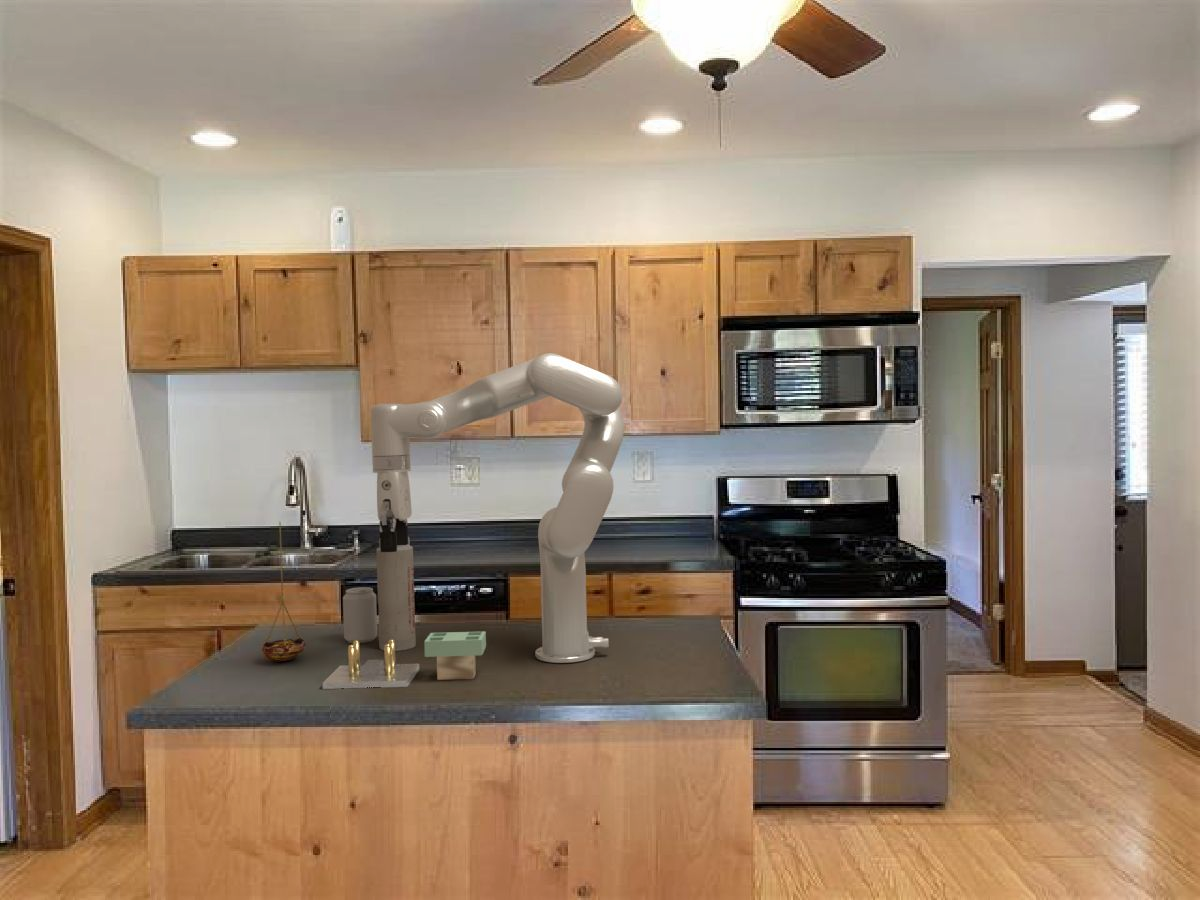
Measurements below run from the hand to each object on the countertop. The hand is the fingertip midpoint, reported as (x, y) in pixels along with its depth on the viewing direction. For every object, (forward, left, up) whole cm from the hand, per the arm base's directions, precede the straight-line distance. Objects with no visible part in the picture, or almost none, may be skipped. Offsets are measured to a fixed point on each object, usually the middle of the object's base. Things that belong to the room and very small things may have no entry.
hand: (394, 548), depth 182 cm
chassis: (+4, +7, -25) cm, 26 cm away
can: (+14, -25, -25) cm, 38 cm away
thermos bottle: (+4, -18, -25) cm, 31 cm away
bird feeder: (+26, -8, -25) cm, 37 cm away
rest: (-13, +7, -25) cm, 29 cm away
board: (-13, +7, -20) cm, 25 cm away
